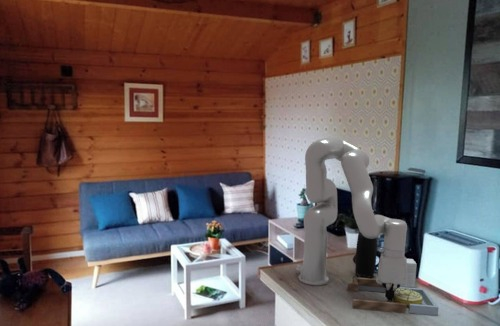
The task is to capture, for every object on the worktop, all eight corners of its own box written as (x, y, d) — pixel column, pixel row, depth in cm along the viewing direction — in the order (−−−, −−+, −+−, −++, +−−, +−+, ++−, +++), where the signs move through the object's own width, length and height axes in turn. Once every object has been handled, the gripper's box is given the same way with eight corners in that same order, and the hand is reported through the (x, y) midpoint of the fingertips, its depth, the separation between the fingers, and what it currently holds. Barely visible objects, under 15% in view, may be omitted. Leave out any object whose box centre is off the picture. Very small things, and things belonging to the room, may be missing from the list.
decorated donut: (406, 294, 164) (407, 285, 164) (428, 305, 155) (429, 296, 154) (386, 297, 160) (387, 288, 159) (407, 310, 150) (408, 300, 150)
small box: (411, 282, 176) (413, 258, 175) (414, 288, 171) (417, 263, 169) (391, 281, 177) (393, 257, 176) (394, 286, 171) (397, 262, 170)
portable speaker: (354, 278, 178) (357, 234, 176) (354, 270, 187) (357, 228, 185) (374, 280, 176) (378, 236, 174) (374, 273, 185) (377, 230, 183)
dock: (409, 313, 148) (410, 305, 148) (398, 294, 164) (399, 286, 164) (437, 315, 147) (438, 307, 147) (423, 296, 163) (424, 288, 163)
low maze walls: (353, 308, 150) (353, 300, 150) (345, 283, 172) (345, 276, 172) (405, 312, 148) (406, 304, 148) (391, 287, 170) (391, 280, 170)
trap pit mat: (358, 290, 166) (358, 290, 166) (356, 285, 170) (356, 285, 170) (387, 293, 164) (387, 292, 164) (385, 288, 169) (385, 287, 169)
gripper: (375, 254, 151) (370, 301, 154) (417, 257, 150) (412, 305, 152) (371, 247, 159) (367, 293, 161) (411, 250, 157) (407, 296, 159)
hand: (389, 299), depth 156 cm, fingers closed
